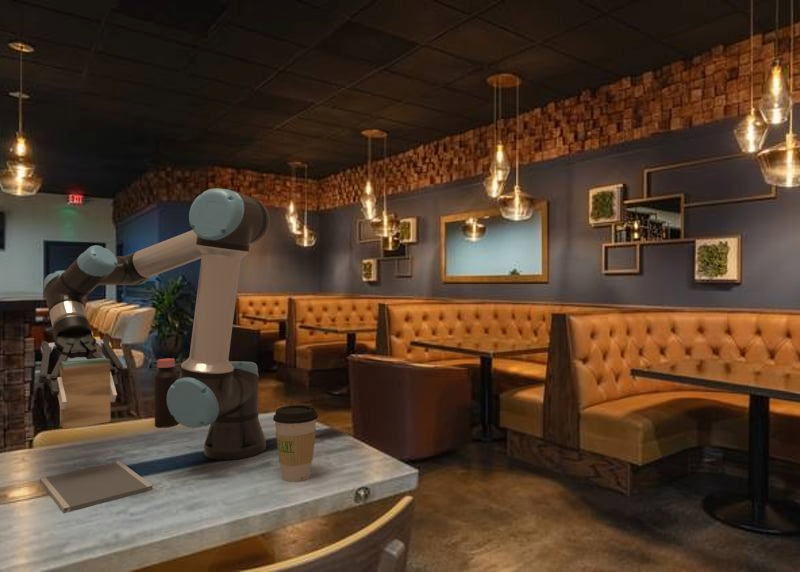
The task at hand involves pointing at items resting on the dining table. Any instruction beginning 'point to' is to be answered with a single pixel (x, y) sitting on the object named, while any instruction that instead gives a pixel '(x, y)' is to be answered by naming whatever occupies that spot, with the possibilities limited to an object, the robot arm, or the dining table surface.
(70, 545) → the dining table surface
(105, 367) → the oak slab
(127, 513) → the dining table surface
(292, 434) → the coffee cup
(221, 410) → the robot arm
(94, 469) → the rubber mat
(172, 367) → the bottle
